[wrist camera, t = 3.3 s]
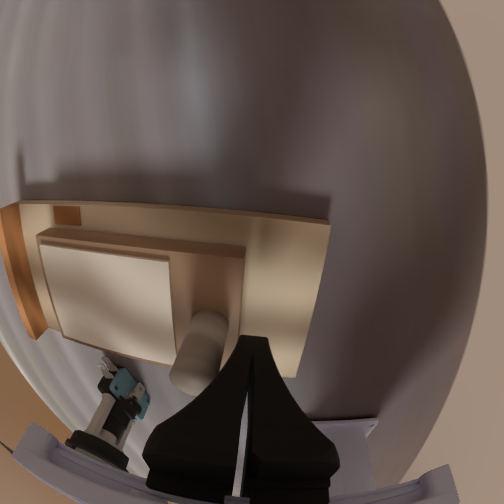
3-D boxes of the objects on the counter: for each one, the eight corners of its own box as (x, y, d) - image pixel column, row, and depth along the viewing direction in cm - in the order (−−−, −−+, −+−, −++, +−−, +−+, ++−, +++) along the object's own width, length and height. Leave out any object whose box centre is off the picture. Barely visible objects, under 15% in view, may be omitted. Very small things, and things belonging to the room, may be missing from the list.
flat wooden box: (294, 367, 18) (296, 399, 16) (47, 318, 19) (29, 337, 16) (327, 220, 14) (340, 238, 11) (20, 200, 15) (-6, 211, 12)
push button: (88, 354, 20) (36, 434, 11) (130, 351, 19) (76, 450, 10) (126, 401, 22) (91, 478, 13) (168, 401, 21) (137, 492, 12)
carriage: (237, 361, 17) (226, 431, 12) (72, 326, 17) (35, 371, 12) (246, 246, 14) (232, 309, 9) (49, 227, 14) (-9, 261, 9)
